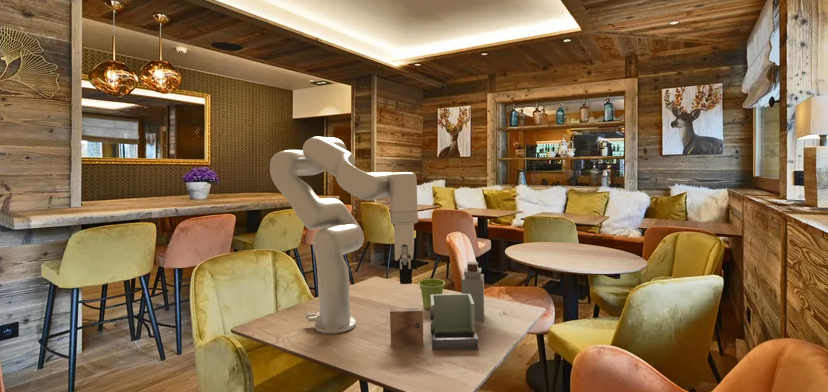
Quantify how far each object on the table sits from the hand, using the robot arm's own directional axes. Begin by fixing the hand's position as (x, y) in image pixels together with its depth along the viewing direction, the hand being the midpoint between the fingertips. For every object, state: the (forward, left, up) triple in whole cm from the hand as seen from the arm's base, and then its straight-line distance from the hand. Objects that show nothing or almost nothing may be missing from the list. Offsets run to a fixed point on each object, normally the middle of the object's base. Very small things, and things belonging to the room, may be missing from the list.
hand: (406, 278), depth 115 cm
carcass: (+13, +5, -19) cm, 23 cm away
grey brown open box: (+13, -2, -19) cm, 23 cm away
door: (0, 0, -19) cm, 19 cm away
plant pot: (+8, +30, -19) cm, 36 cm away
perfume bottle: (+21, +19, -19) cm, 34 cm away
